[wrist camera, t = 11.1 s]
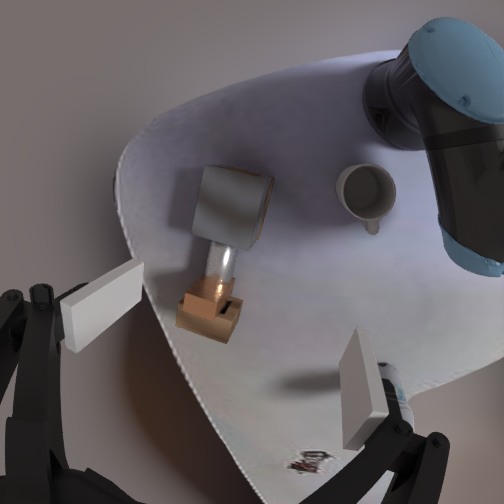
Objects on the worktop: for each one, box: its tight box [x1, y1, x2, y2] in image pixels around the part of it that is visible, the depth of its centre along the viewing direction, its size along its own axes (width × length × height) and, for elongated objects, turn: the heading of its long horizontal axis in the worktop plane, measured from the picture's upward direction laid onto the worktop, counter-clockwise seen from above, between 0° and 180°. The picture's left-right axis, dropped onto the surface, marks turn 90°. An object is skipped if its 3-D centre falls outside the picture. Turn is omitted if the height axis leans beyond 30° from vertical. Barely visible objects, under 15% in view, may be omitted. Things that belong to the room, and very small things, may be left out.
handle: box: [183, 240, 239, 321], centre depth 43 cm, size 18×5×10 cm, turn 166°
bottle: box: [378, 364, 415, 431], centre depth 40 cm, size 7×7×20 cm
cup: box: [336, 163, 396, 235], centre depth 38 cm, size 7×10×9 cm
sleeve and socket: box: [175, 165, 274, 344], centre depth 45 cm, size 26×9×8 cm, turn 166°
